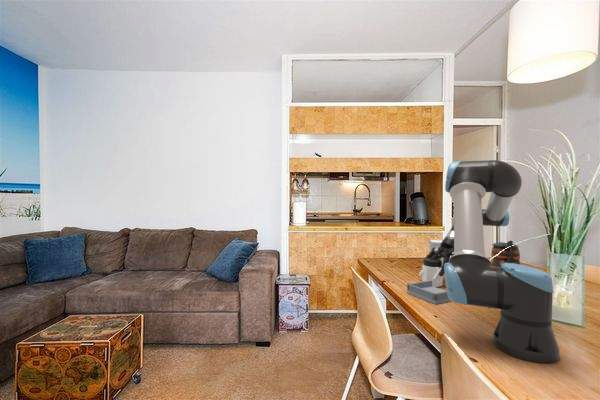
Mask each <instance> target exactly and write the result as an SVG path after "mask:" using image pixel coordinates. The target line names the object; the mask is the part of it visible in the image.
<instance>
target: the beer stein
mask: <svg viewBox="0 0 600 400" xmlns="http://www.w3.org/2000/svg"><path fill="white" fill-rule="evenodd" d="M491 245H492V249H491V254H490V255H491V258H492V257H493V256H495V255H496V254H498V253H499V252H500V251H502V250H503V249H505V248H507V247H509V246H511V247H509V248H507V249H505V250H504V251H502V252H501V253H500V254H499V255H498V256H496V257H494V258H493V259H491V260H490V261H491V267H493V268H501V266H502V264H503V263H514V264H520V263H521V262H520V261H521V260H520V259H521V255H520V250H519V246H518V245H517V244H514V241H513V240H508V241H507V242H502V241H500V242H494V243H492V244H491ZM512 245H514V246H512ZM520 265H521V264H520Z"/></svg>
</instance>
